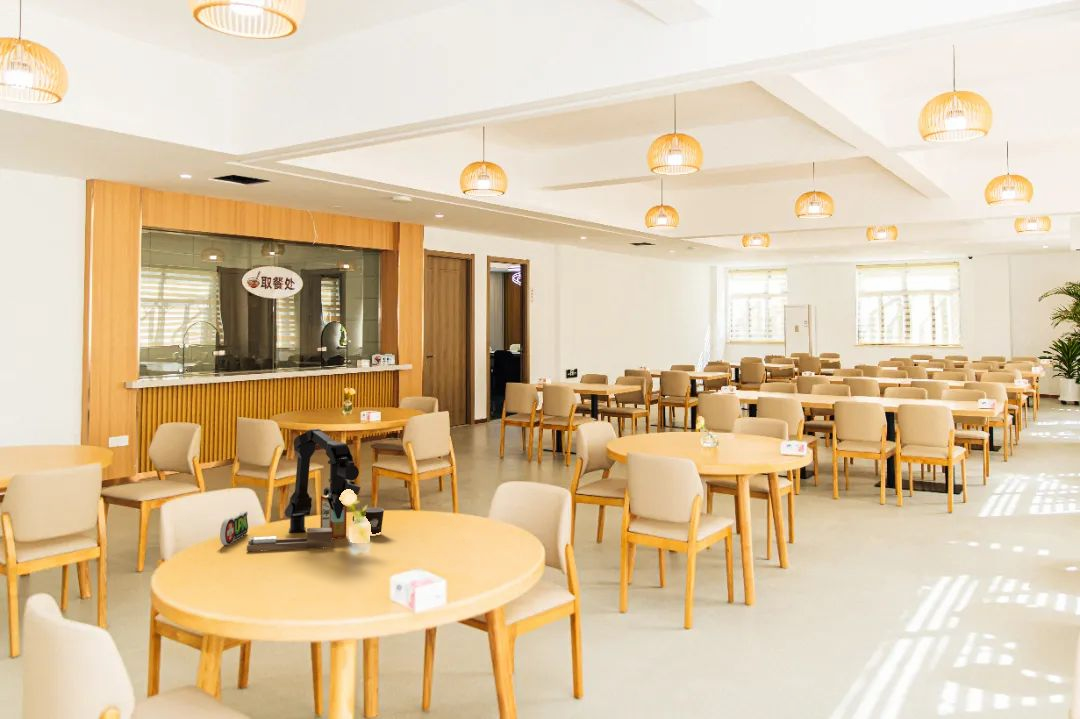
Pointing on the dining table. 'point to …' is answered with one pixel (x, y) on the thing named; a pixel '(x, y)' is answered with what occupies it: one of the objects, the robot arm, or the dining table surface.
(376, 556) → the dining table surface
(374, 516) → the coffee mug
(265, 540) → the grey rectangular block
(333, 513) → the teal cube block
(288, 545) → the housing
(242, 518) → the sign
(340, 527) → the baking soda box
